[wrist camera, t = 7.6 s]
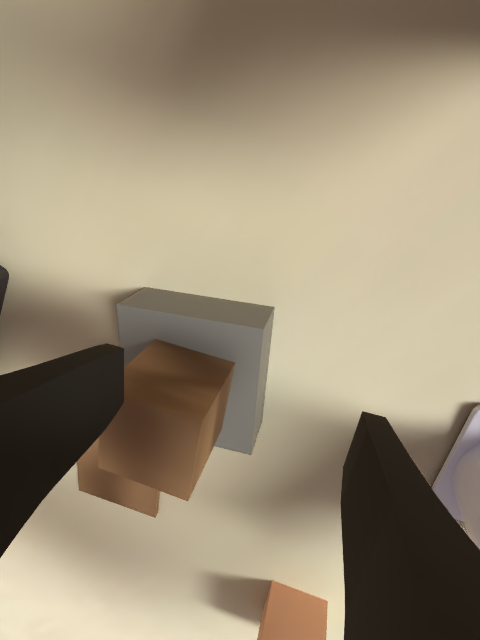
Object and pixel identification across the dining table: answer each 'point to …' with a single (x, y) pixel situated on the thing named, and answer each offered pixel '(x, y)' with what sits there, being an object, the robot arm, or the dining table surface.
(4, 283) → the black and red box
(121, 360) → the robot arm
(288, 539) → the dining table surface
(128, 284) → the dining table surface
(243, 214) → the dining table surface
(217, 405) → the walnut block
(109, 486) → the tile
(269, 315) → the base block
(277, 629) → the terracotta block
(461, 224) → the dining table surface
